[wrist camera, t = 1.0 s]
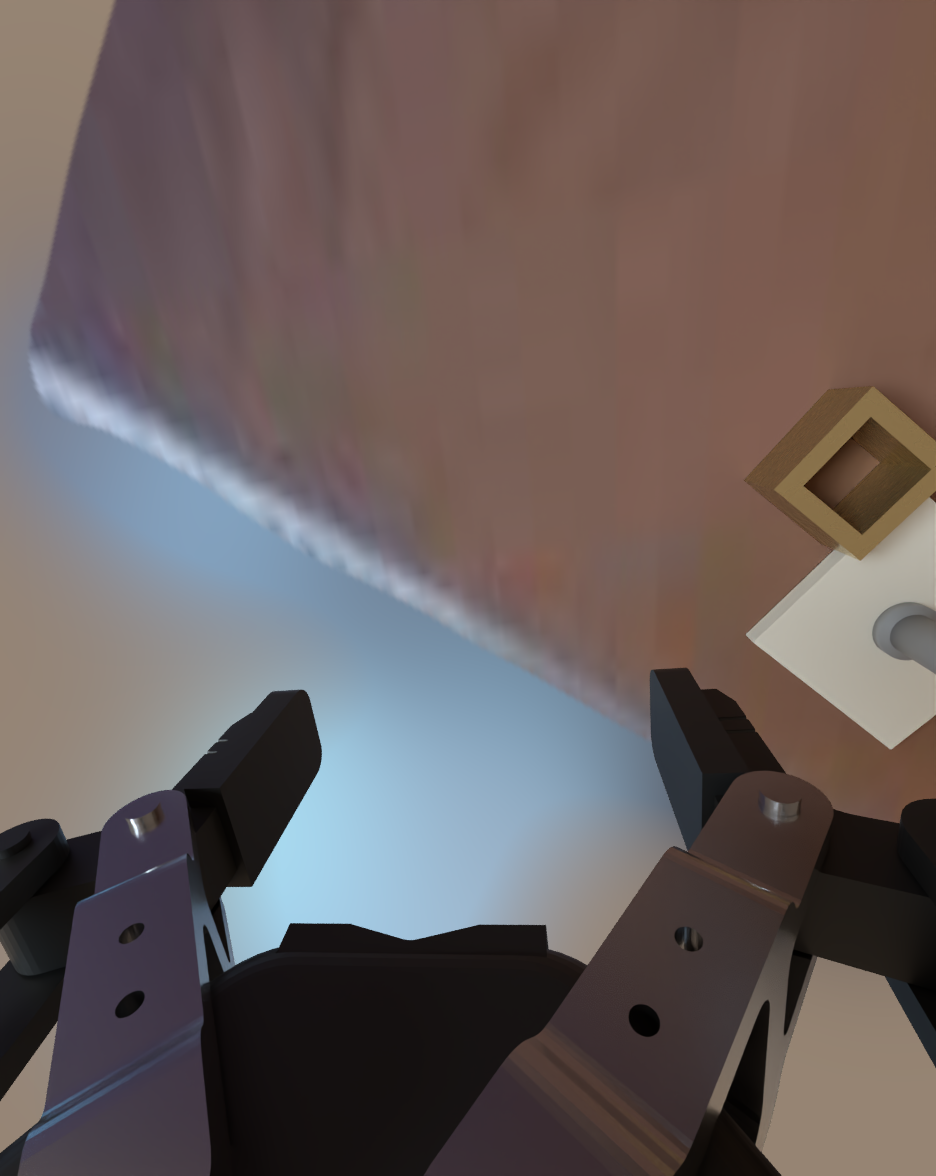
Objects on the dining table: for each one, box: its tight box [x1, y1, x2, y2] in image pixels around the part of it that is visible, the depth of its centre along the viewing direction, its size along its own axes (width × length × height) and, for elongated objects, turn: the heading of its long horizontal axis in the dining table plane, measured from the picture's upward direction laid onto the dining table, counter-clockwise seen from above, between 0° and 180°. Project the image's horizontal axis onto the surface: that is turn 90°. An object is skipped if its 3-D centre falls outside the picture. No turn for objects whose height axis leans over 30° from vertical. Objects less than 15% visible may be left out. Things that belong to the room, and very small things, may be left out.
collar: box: [744, 386, 936, 561], centre depth 29 cm, size 6×6×4 cm
